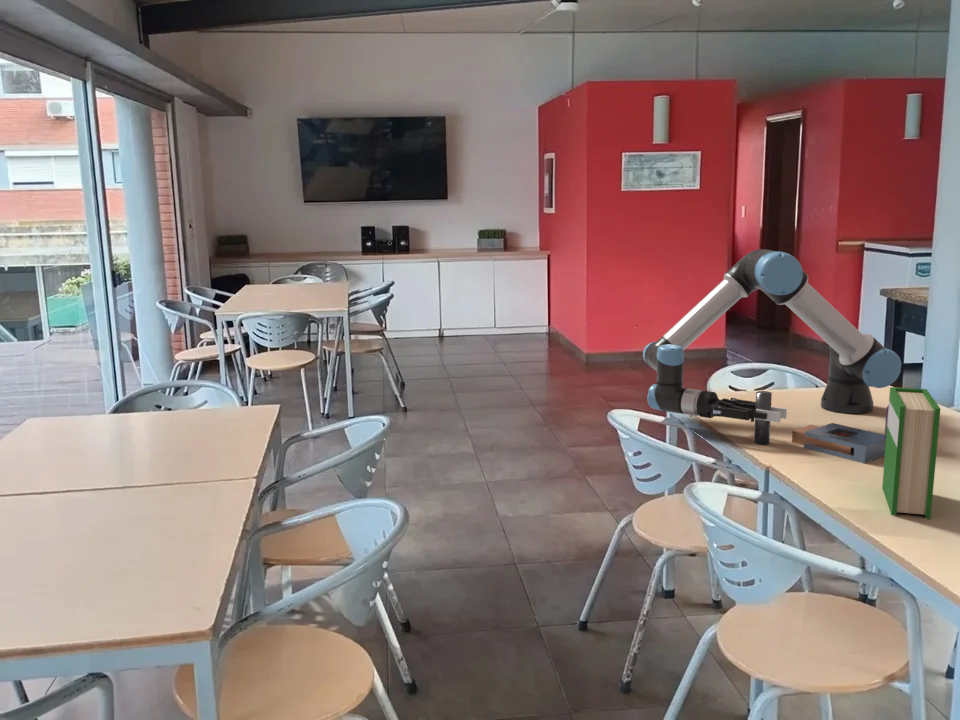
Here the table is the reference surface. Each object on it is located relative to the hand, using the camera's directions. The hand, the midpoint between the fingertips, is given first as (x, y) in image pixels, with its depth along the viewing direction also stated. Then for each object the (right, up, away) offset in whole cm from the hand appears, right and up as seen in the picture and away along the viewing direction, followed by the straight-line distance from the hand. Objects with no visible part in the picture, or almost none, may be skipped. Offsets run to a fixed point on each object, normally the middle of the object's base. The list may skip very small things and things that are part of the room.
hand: (782, 415), depth 227 cm
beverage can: (+31, -8, 0) cm, 32 cm away
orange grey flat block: (+15, -9, -2) cm, 17 cm away
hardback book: (+13, -17, -40) cm, 45 cm away
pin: (-4, -8, +5) cm, 10 cm away
